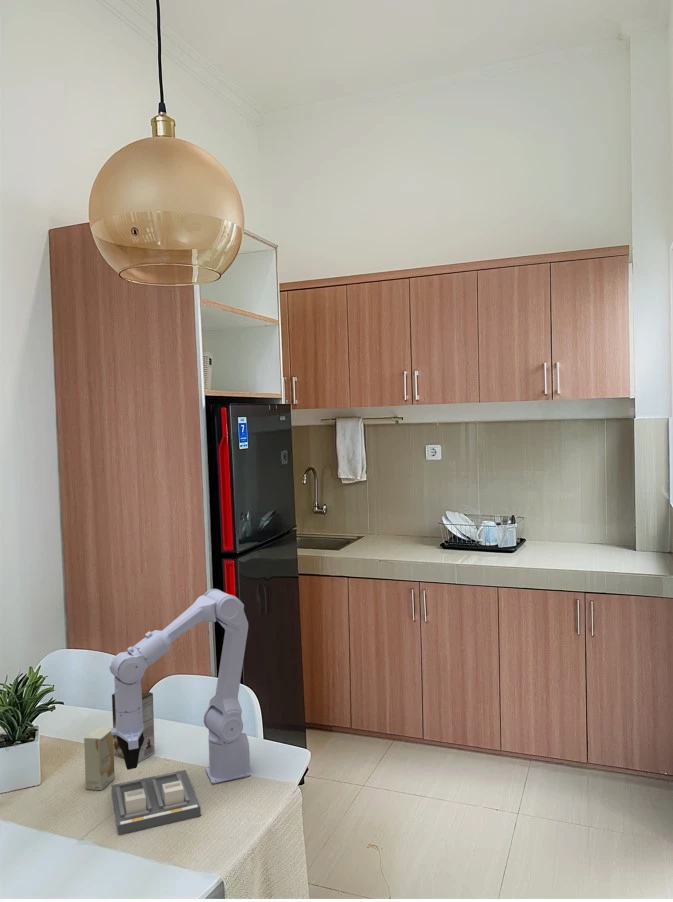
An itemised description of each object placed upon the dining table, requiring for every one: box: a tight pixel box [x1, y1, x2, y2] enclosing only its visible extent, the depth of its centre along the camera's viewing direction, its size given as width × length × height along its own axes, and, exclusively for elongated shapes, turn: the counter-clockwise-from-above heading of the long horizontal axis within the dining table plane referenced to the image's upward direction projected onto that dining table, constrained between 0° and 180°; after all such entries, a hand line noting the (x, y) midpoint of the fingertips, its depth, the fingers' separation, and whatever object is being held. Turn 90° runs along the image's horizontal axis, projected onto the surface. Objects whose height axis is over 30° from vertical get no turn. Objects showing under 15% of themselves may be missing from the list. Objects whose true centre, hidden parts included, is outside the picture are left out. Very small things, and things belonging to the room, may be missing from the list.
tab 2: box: [162, 781, 184, 807], centre depth 155 cm, size 4×4×4 cm
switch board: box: [110, 769, 202, 836], centre depth 157 cm, size 17×18×3 cm
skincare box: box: [83, 727, 116, 791], centre depth 167 cm, size 6×4×12 cm
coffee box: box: [111, 689, 156, 763], centre depth 182 cm, size 9×6×16 cm
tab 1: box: [124, 788, 146, 815], centre depth 152 cm, size 4×4×4 cm
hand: (131, 767), depth 157 cm, fingers closed
